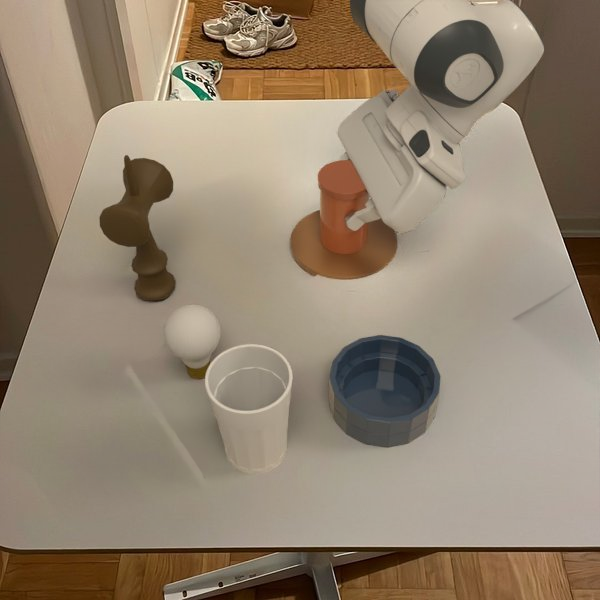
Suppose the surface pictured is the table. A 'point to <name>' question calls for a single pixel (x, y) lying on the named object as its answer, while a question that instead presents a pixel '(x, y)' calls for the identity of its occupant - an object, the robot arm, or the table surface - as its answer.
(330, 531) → the table surface
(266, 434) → the cup
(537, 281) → the table surface
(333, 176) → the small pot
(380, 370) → the bowl
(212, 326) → the light bulb
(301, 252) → the disc
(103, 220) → the kendama
